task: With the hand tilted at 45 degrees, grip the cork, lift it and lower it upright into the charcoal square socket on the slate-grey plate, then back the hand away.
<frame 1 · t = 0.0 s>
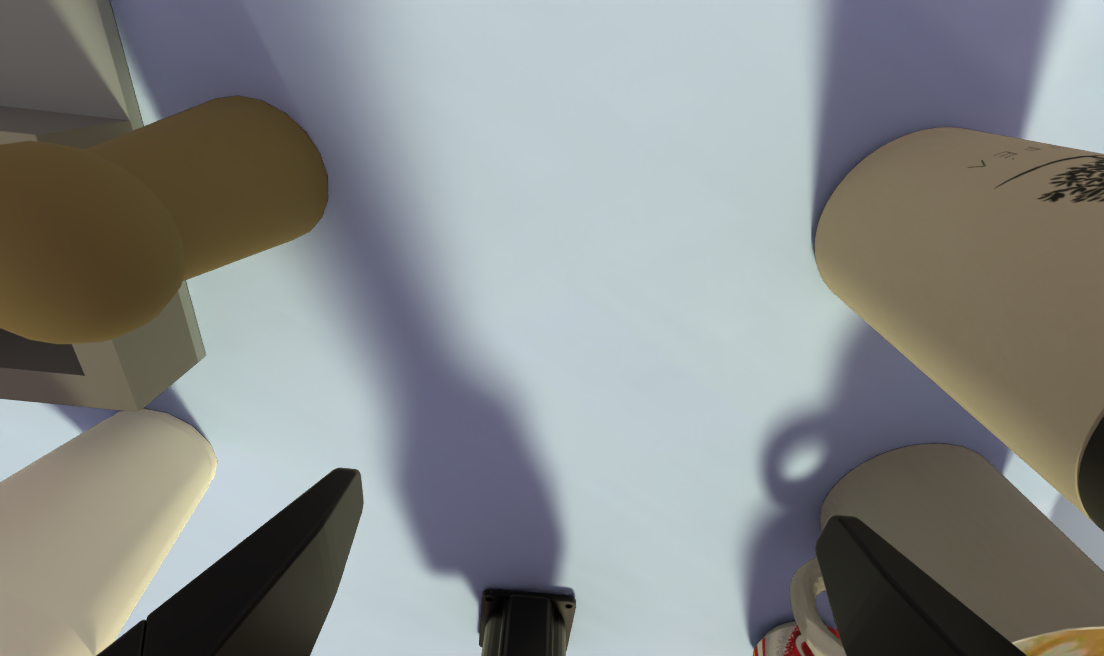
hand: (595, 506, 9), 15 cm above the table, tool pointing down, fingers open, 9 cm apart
coffee mug: (873, 506, 30), on the table
cork: (259, 172, 21), on the table
soda can: (794, 637, 37), on the table
socket: (50, 238, 23), on the table
foam cup: (163, 449, 29), on the table
travel mug: (903, 222, 22), on the table
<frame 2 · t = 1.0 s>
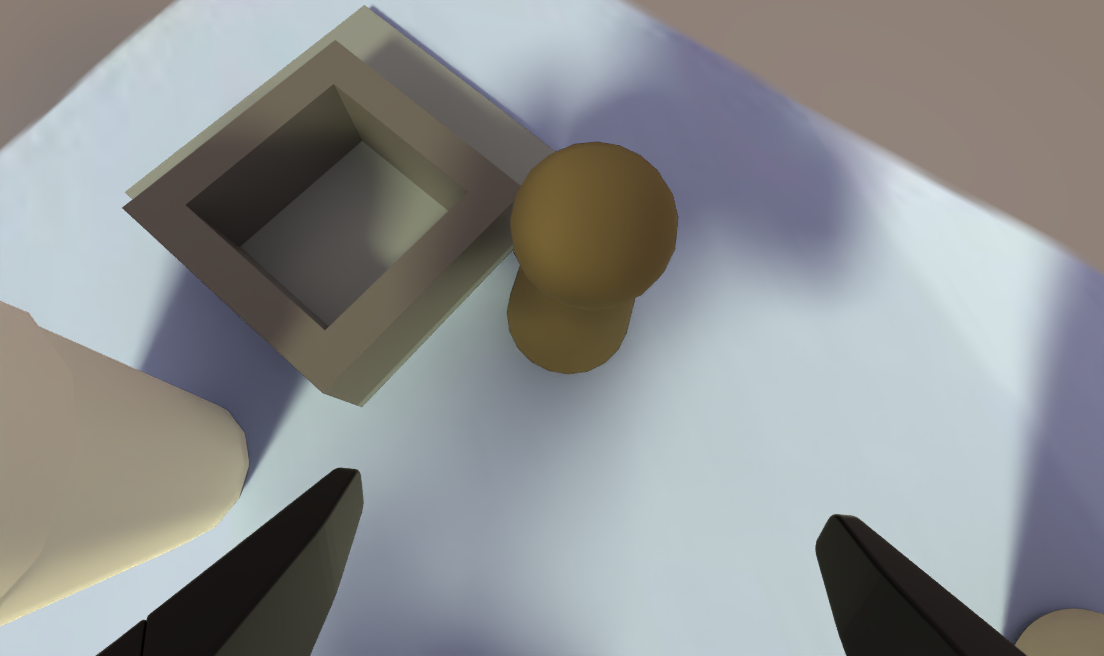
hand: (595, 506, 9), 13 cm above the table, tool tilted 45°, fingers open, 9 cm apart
cork: (567, 314, 25), on the table
socket: (364, 245, 25), on the table
foam cup: (176, 469, 22), on the table
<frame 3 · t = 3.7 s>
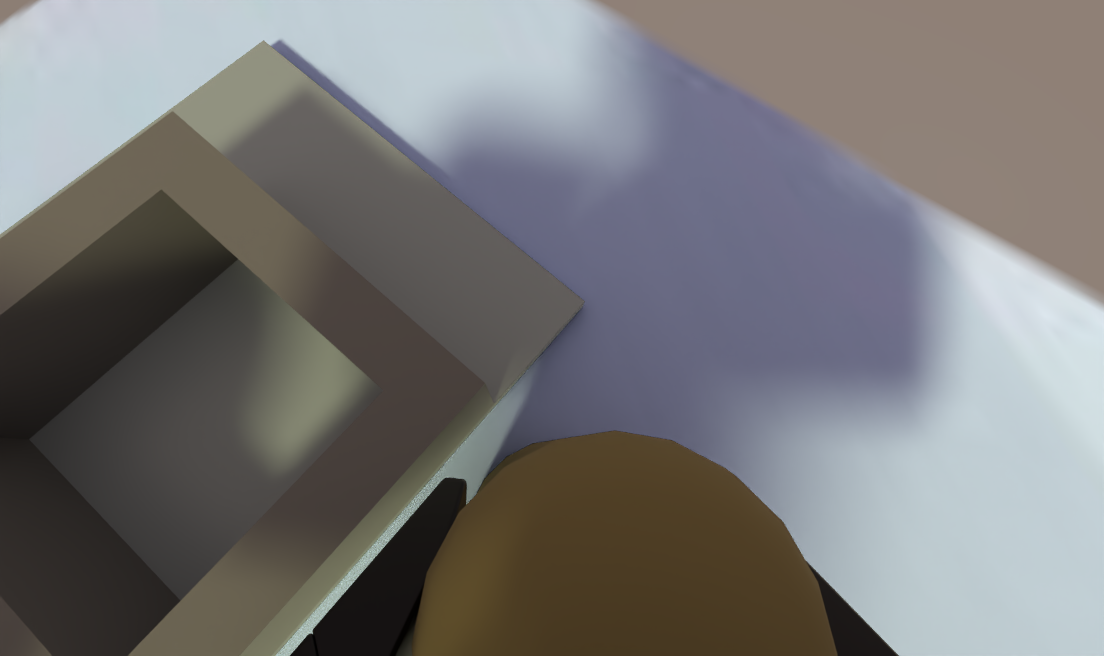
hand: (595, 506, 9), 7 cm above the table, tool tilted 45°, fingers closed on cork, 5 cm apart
cork: (561, 537, 16), on the table, touching gripper
socket: (239, 425, 16), on the table
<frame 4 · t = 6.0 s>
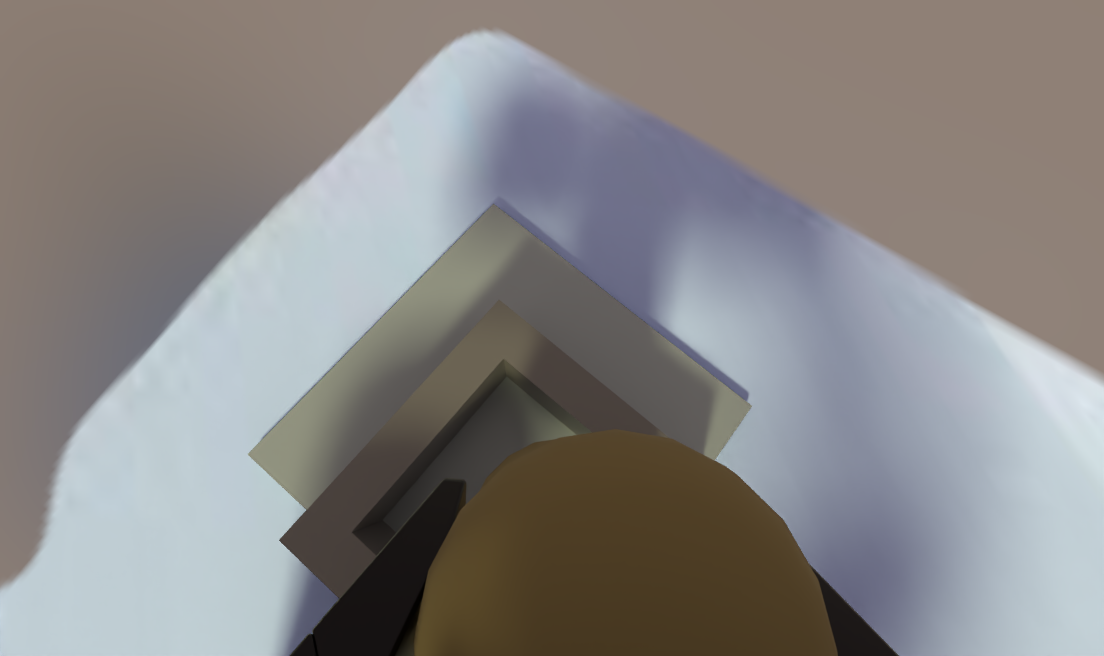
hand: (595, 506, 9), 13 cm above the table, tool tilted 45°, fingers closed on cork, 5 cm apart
cork: (562, 536, 16), point 7 cm above the table, touching gripper
socket: (516, 504, 22), on the table
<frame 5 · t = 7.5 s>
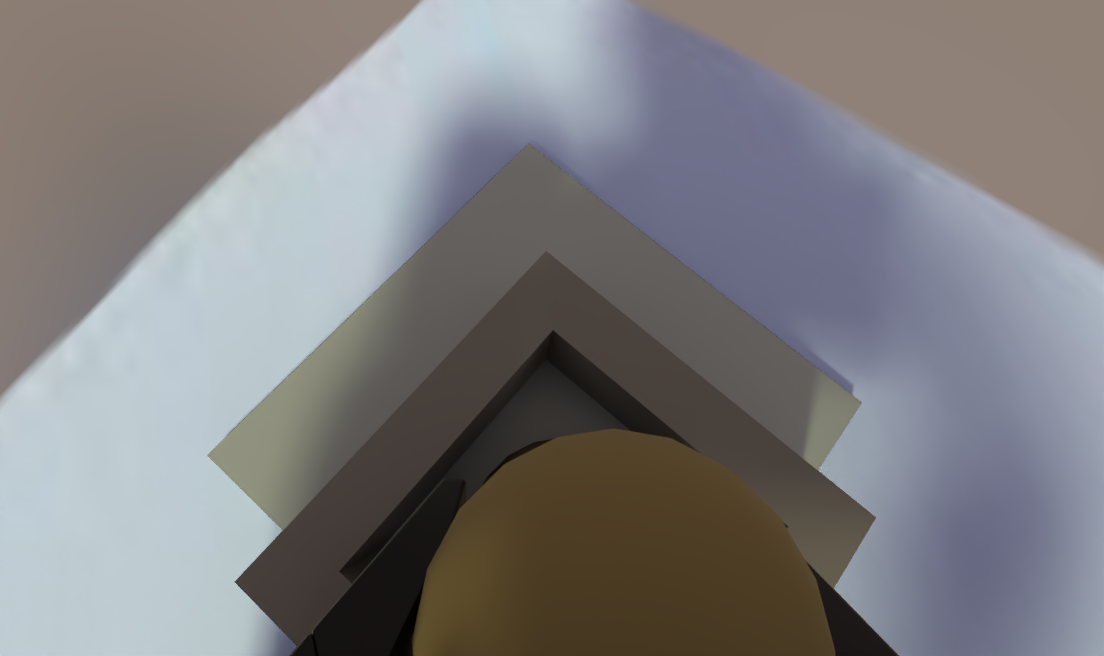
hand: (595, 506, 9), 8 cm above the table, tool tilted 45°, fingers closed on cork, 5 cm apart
cork: (562, 535, 16), point 1 cm above the table, touching gripper
socket: (558, 525, 17), on the table
when the fingers open (8 cm above the table, at t = 8.2 s): cork stays where it is, resting on socket.
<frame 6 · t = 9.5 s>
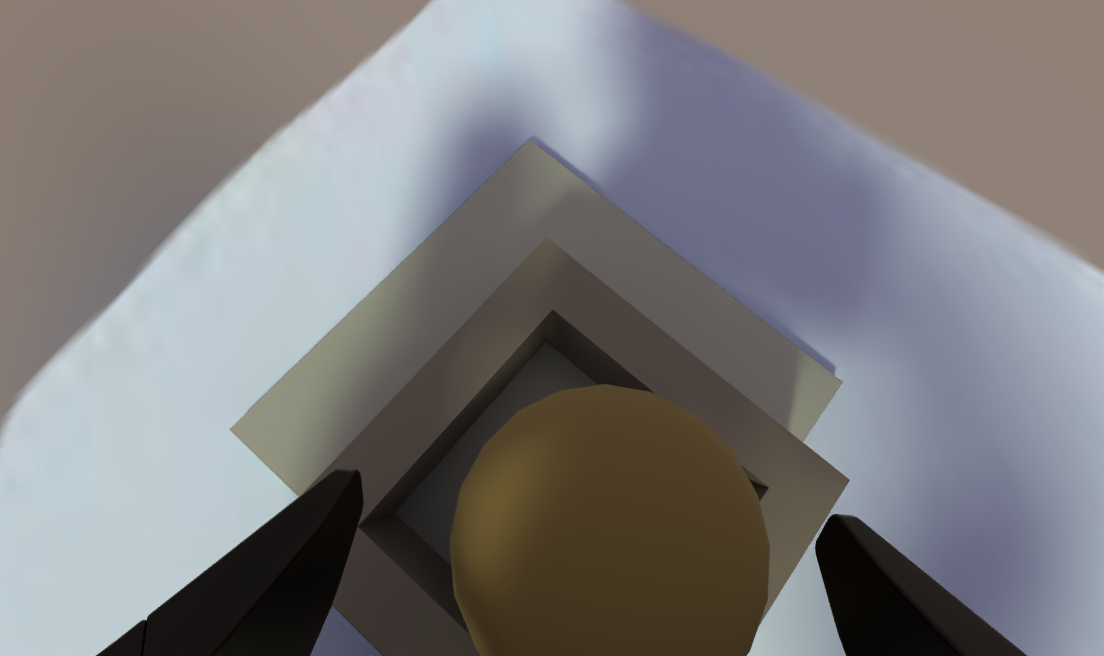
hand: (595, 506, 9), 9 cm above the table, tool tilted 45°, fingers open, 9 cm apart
cork: (561, 500, 18), resting on socket
socket: (558, 496, 18), on the table
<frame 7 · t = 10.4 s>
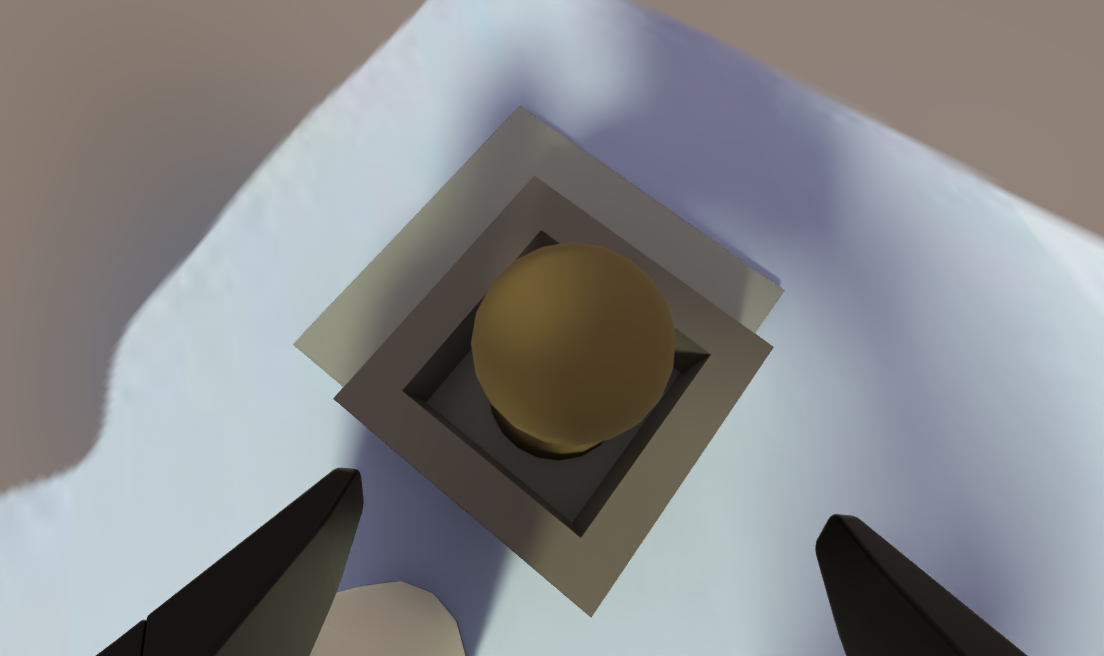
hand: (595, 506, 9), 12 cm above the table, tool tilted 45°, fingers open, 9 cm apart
cork: (557, 390, 22), resting on socket
socket: (554, 388, 22), on the table
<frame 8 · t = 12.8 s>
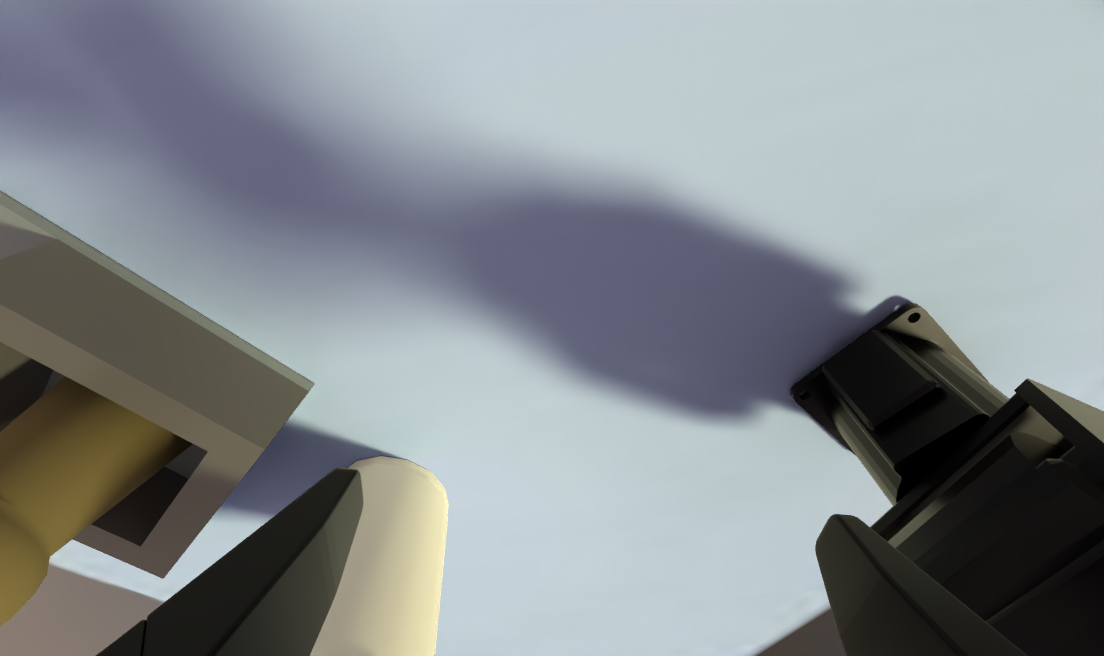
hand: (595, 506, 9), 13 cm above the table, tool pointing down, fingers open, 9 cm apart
cork: (152, 394, 24), resting on socket
socket: (157, 390, 25), on the table
foam cup: (393, 495, 28), on the table
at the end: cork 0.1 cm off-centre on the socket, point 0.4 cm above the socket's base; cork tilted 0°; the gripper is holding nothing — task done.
